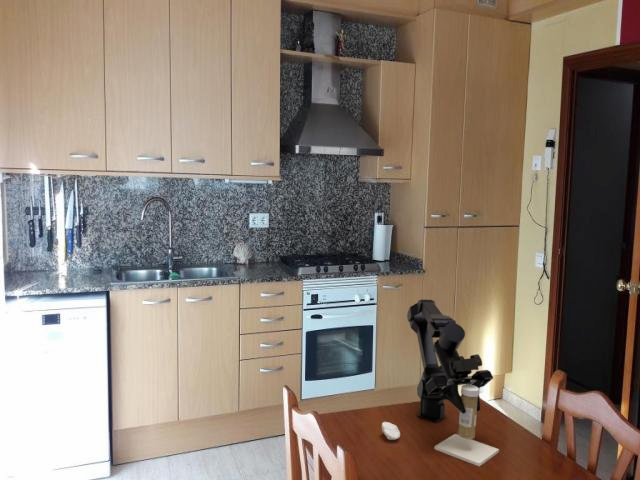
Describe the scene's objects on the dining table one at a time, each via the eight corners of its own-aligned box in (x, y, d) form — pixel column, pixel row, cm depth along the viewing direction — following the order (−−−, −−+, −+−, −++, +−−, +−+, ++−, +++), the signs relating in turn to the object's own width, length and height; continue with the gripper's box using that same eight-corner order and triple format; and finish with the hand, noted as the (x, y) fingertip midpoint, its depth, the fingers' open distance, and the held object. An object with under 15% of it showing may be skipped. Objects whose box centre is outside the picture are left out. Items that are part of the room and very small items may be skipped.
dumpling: (379, 432, 157) (380, 419, 157) (397, 432, 158) (398, 419, 157) (383, 444, 150) (384, 430, 150) (402, 444, 151) (403, 430, 150)
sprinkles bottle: (478, 437, 147) (483, 388, 146) (466, 441, 144) (471, 391, 143) (465, 430, 150) (469, 383, 149) (453, 434, 148) (457, 385, 147)
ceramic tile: (434, 449, 148) (434, 446, 148) (455, 436, 156) (455, 433, 156) (479, 466, 139) (479, 463, 139) (498, 452, 147) (499, 449, 147)
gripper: (433, 347, 145) (456, 403, 136) (490, 341, 152) (516, 394, 143) (415, 366, 153) (436, 421, 144) (471, 360, 160) (494, 412, 151)
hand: (471, 411), depth 145 cm, fingers closed on sprinkles bottle, 4 cm apart
